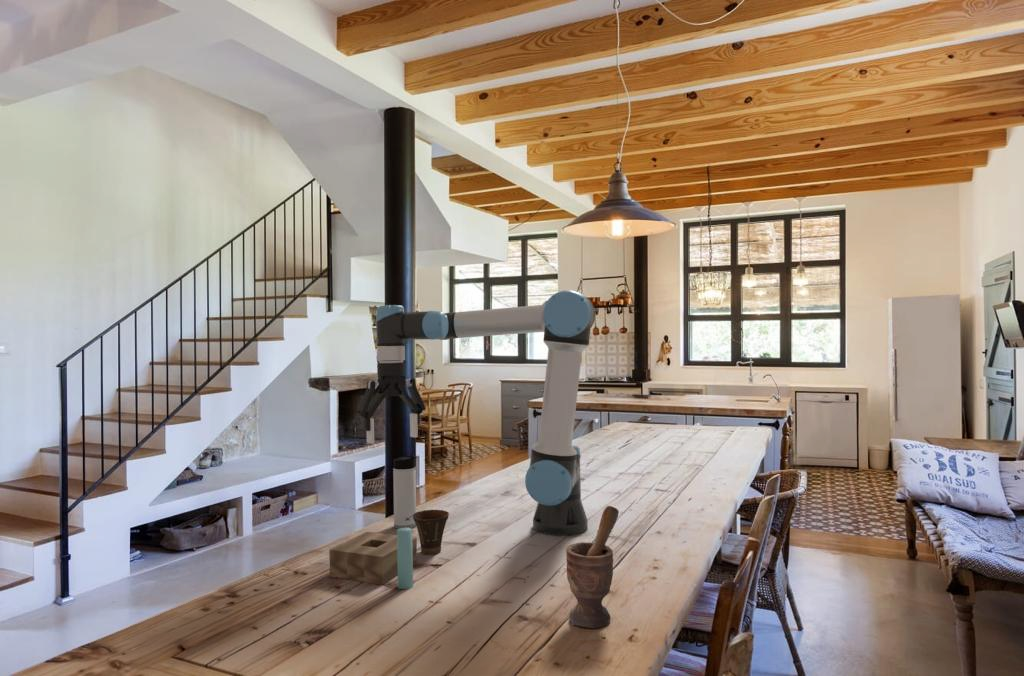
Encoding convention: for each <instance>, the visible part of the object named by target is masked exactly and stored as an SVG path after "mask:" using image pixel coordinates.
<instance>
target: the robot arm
mask: <svg viewBox="0 0 1024 676" xmlns="http://www.w3.org/2000/svg"><path fill="white" fill-rule="evenodd" d="M595 321H596V310H595V306H594V305H593V303H592V301H591V300H590V299H589V298H588V297H587V296H585V295H584V294H582V293H581V292H579V291H577V290H572V289H570V290H568V289H567V290H559V291H558V292H556V293H554V294H553V295H551V296H550V297H549V298H548V300H545V301H544V302H543V303H542V304H537V305H536V304H535V305H527V306H526V305H525V306H513V307H502V308H490V309H478V310H466V311H456V312H444V311H442V310H441V311H439V310H427V311H412V312H411V311H410V312H409V311H405V307H404V306H403V305H399V304H398V305H397V304H389V305H388V304H384V305H383V304H382V305H379V306H378V307H377V308H376V320H375V325H376V326H375V327H376V328H375V329H376V330H375V331H376V359H377V362H378V363H377V365H376V370H377V381H375V380H368V381H367V382H366V390H365V392H364V395H363V396H362V399H361V402H360V404H359V406H358V409H357V411H356V416H357V417H360V418H362V419H363V431H365V432H366V443H367V444H372V445H374V444H375V422H374V421H375V418H372V416H373V415H374V414H375V412H376V410H377V409H378V408H379V406H380V405H381V403H382V402H383V400H384V399H386V398H387V397H400V398H401V399H402V401H403V402H404V403H405V405H406V406H407V408H408V409H409V410H410V411H411V413H409V436H410V438H415V439H416V438H418V437H419V433H418V431H419V427H418V426H419V425H420V423H421V422H420V419H421V418H420V417H421V416H420V414H422V412H423V411H426V408H427V407H426V405H425V403H424V401H423V399H422V397H421V394H420V392H419V389H418V388H417V385H416V384H417V383H416V379H415V378H407V379H406V378H405V376H406V363H405V362H404V361H405V360H406V347H405V346H406V345H405V344H406V342H405V341H409V340H431V341H432V340H438V341H439V340H440V341H445V340H451V339H463V338H477V337H479V338H480V337H489V336H506V335H521V334H530V333H531V334H532V333H543V343H544V344H545V346H546V347H547V348H548V349H547V351H548V352H547V358H546V359H547V360H546V369H545V378H544V387H543V395H542V396H543V397H542V405H541V406H542V407H541V415H540V416H541V417H540V425H539V433H538V441H537V442H536V443H535V444H533V445H532V446H531V453H530V462H529V467H528V469H527V470H526V473H525V479H524V480H525V481H524V482H525V488H526V492H528V495H529V496H530V497H531V499H533V500H534V501H535V502H537V505H536V508H535V511H534V516H533V519H532V529H534V530H535V531H536V532H538V533H540V534H545V535H550V536H551V535H552V536H572V535H577V534H581V533H584V532H585V531H587V530H588V526H589V524H588V518H587V514H586V511H585V508H584V505H583V502H582V497H581V496H582V494H581V493H582V490H581V485H582V484H581V483H582V482H581V457H582V454H581V451H580V450H581V449H580V447H579V445H575V444H573V437H574V429H575V419H576V411H577V409H576V408H577V403H578V402H577V401H578V391H579V383H580V375H581V374H580V373H581V364H582V356H583V354H582V353H583V352H584V351H585V350H586V349H587V348H588V347H589V345H590V336H591V328H592V327H593V325H594V323H595ZM405 387H407V389H408V391H409V393H410V395H411V397H412V398H411V397H410V395H409V393H408V391H406V389H405ZM377 388H378V390H377V392H376V393H375V391H376V389H377ZM374 394H375V397H374V398H373V396H374Z"/></svg>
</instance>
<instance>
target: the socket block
mask: <svg viewBox="0 0 1024 676" xmlns="http://www.w3.org/2000/svg"><path fill="white" fill-rule="evenodd" d="M417 541H418V540H417V537H415V536H414V537H413V536H412V553H413V566H415V565H416V564H418V551H417V549H418V546H417V544H418V542H417ZM328 552H329V556H328V557H329V577H331V578H336V577H338V578H337V579H342V578H346V579H345V580H349V579H352V580H351V581H355V580H359V581H358V582H361V581H363V582H362V583H368V582H369V584H370V583H371V584H373V585H374V584H375V585H381V586H383V585H385V584H386V583H388V582H390V581H391V580H394V579H395V578H397V577H398V570H397V534H389V533H381V532H380V533H379V532H373V531H372V532H371V531H365V532H363V533H361V534H359V535H357V536H355V537H352V538H351V539H349V540H346V541H345V542H342V543H340V544H339V545H336V546H334V547H332V548H330V549H329V550H328Z"/></svg>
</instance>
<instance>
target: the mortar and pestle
mask: <svg viewBox="0 0 1024 676" xmlns="http://www.w3.org/2000/svg"><path fill="white" fill-rule="evenodd" d="M618 517H619V510H618V508H616V507H614V506H611V505H606V507H605V508H604V509H603V512H602V514H601V517H600V521H599V526H598V530H597V532H596V535H595V539H594V542H576V543H572V544H569V545H567V547H566V549H565V553H566V578H567V582H568V584H569V588H570V591H571V593H572V595H574V597H575V599H576V600H577V602H576V605H574V606H573V607H572V608H571V609H570V612H569V616H568V617H569V621H570V623H571V625H572V626H576V627H580V628H581V627H582V628H586V629H601V628H603V627H605V626H607V625H608V624H609V623H610V621H611V614H610V612H609V610H608V609H607V608H606V607H605V606H604V605H603V600H604V598H605V597H607V595H608V594H609V593H610V590H611V586H612V582H613V577H614V575H613V574H614V557H613V556H614V553H613V552H614V551H613V549H612V548H611V547H609V546H608V545H606V543H607V541H608V540H609V536H610V535H611V533H612V531H613V529H614V527H615V525H616V523H617V520H618Z"/></svg>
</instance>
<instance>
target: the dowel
mask: <svg viewBox="0 0 1024 676" xmlns="http://www.w3.org/2000/svg"><path fill="white" fill-rule="evenodd" d="M396 535H397V570H398V576H397V589H400V590H408V589H411V588H413V587H414V573H413V572H414V568H413V567H414V565H413V553H412V537H413V528H400V529H397V530H396Z"/></svg>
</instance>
